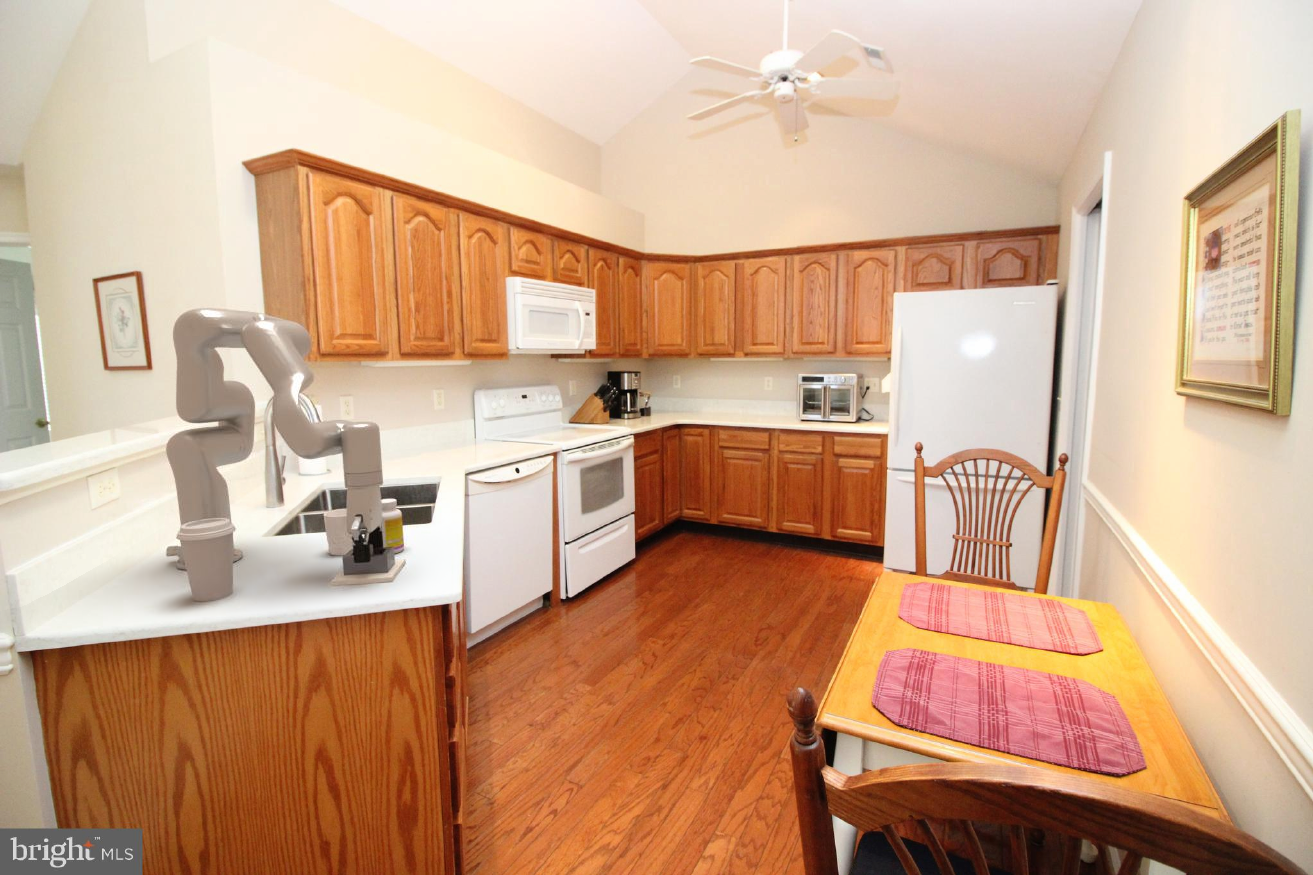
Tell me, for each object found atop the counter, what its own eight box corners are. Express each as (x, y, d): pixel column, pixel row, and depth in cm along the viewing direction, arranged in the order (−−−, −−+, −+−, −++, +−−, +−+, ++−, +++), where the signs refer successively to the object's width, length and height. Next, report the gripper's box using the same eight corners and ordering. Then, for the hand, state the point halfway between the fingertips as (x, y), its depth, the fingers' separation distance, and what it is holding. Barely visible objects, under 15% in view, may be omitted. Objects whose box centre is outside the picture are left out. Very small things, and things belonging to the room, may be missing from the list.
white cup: (369, 548, 152) (366, 509, 150) (344, 558, 144) (341, 517, 143) (345, 545, 154) (342, 507, 153) (319, 554, 147) (315, 514, 146)
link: (343, 575, 130) (342, 557, 129) (352, 566, 136) (351, 548, 135) (388, 572, 131) (386, 554, 131) (395, 563, 137) (393, 546, 137)
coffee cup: (242, 583, 129) (235, 514, 127) (241, 597, 121) (233, 524, 119) (186, 592, 123) (178, 521, 121) (180, 608, 115) (171, 532, 113)
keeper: (331, 585, 127) (329, 555, 126) (350, 566, 138) (348, 538, 137) (392, 581, 129) (390, 552, 128) (405, 563, 140) (403, 536, 139)
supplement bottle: (409, 547, 152) (406, 497, 150) (395, 556, 146) (392, 504, 144) (384, 546, 153) (380, 497, 151) (369, 555, 146) (365, 503, 144)
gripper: (357, 472, 139) (363, 544, 141) (330, 488, 122) (337, 569, 124) (392, 471, 140) (397, 542, 142) (370, 486, 123) (376, 567, 125)
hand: (369, 555), depth 133 cm, fingers open, 9 cm apart
